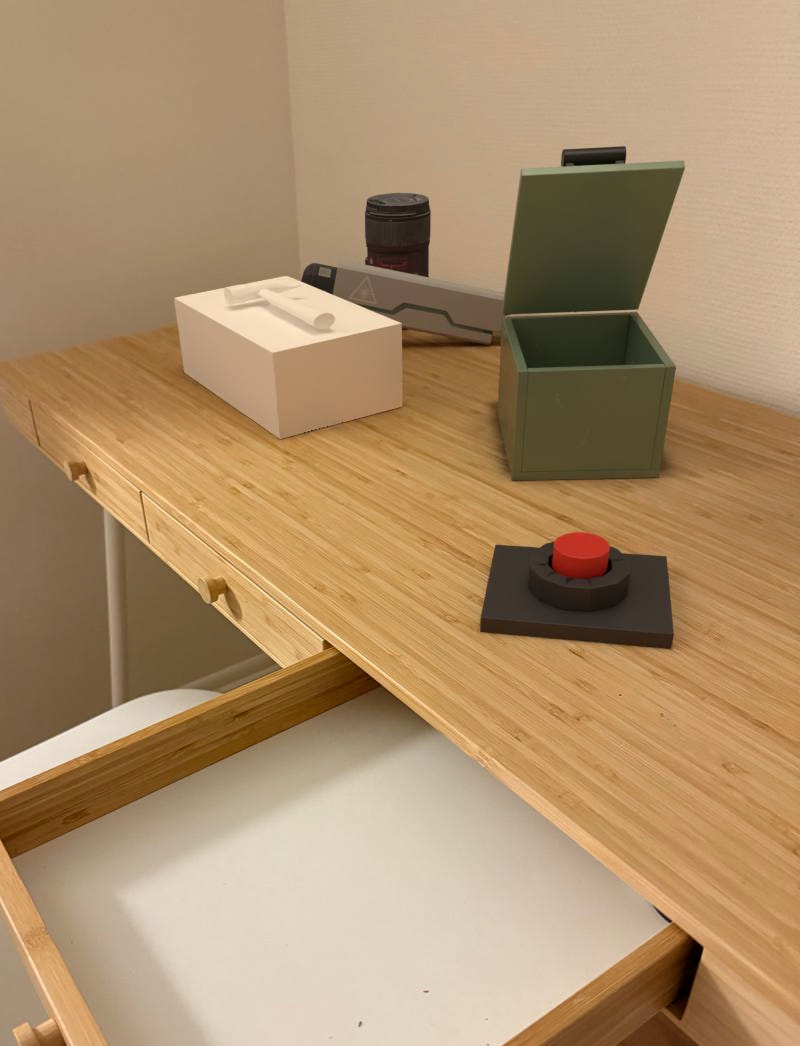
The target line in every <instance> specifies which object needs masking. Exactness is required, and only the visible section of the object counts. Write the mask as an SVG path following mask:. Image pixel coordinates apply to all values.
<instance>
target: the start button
mask: <svg viewBox="0 0 800 1046" xmlns="http://www.w3.org/2000/svg"><path fill="white" fill-rule="evenodd" d="M553 542H554V549H553V559H552V567H553V570H554V571H555V572H556V573H559V574H562V575H564V576H567V577H570V578H579V579H590V578H595V577H600V576H603V575H604V574H605V573H606V571H607V567H608V559H609V552H610V546H611V545H610V543H609V541H608V540H606V539H605V538H604V537H602V536H600V535H598V534H594V533H590V532H581V531H580V532H579V531H578V532H577V531H576V532H575V531H574V532H568V533H564V534H562V535H560V536H558V537H557V538H556V539H555V541H553Z"/></svg>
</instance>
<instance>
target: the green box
mask: <svg viewBox="0 0 800 1046" xmlns="http://www.w3.org/2000/svg"><path fill="white" fill-rule="evenodd" d="M500 333H501V334H500V355H499V372H498V392H497V412H496V415H497V420H498V425H499V428H500V433H501V437H502V443H503V446H504V452H505V455H506V460H507V465H508V469H509V470H508V471H509V474H510V478H511V481H514V482H515V481H516V482H517V481H556V480H557V481H558V480H559V481H560V480H602V479H604V480H605V479H607V480H609V479H648V478H649V479H653V478H654V479H655V478H659V477H660V473H661V466H662V460H663V453H664V446H665V442H666V441H665V440H666V433H667V428H668V421H669V415H670V409H671V403H672V396H673V389H674V383H675V377H676V370H677V366H676V364H675V363H674V361H673V360H672V359H671V357H670V356H669V354H668V353H667V352H666V350H665V348H664V347H663V346H662V345H661V343H660V342H659V340H658V339H657V338H656V336H655V335H654V333H653V332H652V330H651V329H650V328H649V326H648V325H647V323H646V322H645V320H644V319H643V318H642V317H641V314H639V312H638V311H624V312H622V311H621V312H597V313H593V312H590V313H568V314H567V313H566V314H565V313H563V314H541V315H539V314H537V315H513V316H511V315H508V316H505V317H502V329H501V332H500Z"/></svg>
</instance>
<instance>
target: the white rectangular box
mask: <svg viewBox="0 0 800 1046" xmlns="http://www.w3.org/2000/svg"><path fill="white" fill-rule="evenodd" d="M173 301H174V310H175V316H176V323H177V331H178V338H179V346H180V351H181V352H180V353H181V359H182V365H183V366H182V368H183V373H184V374H185V375H187V376H188V377H190V378H191V379H193V380H194V381H195V382H197V383H199V384H200V385H201V386H203V387H205V389H207V390H209V391H210V393H211V392H212V394H215V396H217V397H219V399H222V400H223V401H224V402H226V403H227V404H229V405H230V406H232V407H233V408H235V409H236V410H237V411H238V412H240V413H242V414H243V415H244V416H246V417H247V418H249V419H250V420H251V421H253V422H254V423H256V424H257V425H259V426H260V427H262V428H263V429H264V430H266V431H267V432H269V433H270V434H272V435H273V436H274V437H276V438H277V439H279V440H282V439H286V438H290V437H294V436H297V435H300V434H305V433H309V432H312V431H311V430H313V431H316V430H320V429H324V428H328V427H332V426H335V425H339V424H342V422H343V423H346V422H349V421H353V420H354V421H355V420H357V419H361V418H364V417H368V416H373V415H377V414H380V413H384V412H388V411H391V410H394V409H398V408H402V407H403V329H402V323H400V322H397V321H395V320H392V319H390V318H388V317H385V316H383V315H380V314H378V313H376V312H373V311H371V310H368V309H366V308H363V307H361V306H359V305H356V304H354V303H351V302H349V301H346V300H344V299H342V298H339V297H337V296H334V295H332V294H329V293H327V292H325V291H322V290H320V289H317V288H315V287H313V286H310V285H308V284H305V283H303V282H301V280H299V279H296V278H293V277H291V276H288V275H283V276H279V277H273V278H268V279H263V280H258V281H252V282H247V283H241V284H236V285H231V286H226V287H221V288H216V289H212V290H207V291H202V292H196V293H192V294H185V295H181V296H177V297H176V296H175V297H173ZM327 426H328V427H327ZM323 427H324V428H323ZM319 428H320V429H319ZM315 429H316V430H315ZM308 431H309V432H308ZM304 432H305V433H304Z"/></svg>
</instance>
